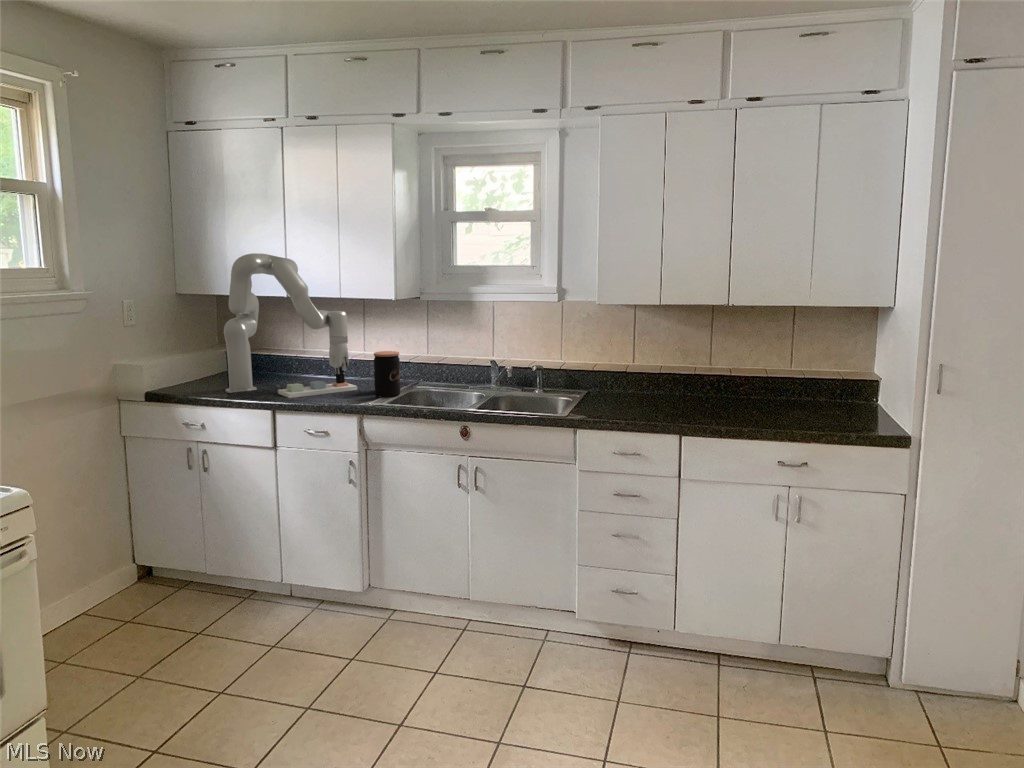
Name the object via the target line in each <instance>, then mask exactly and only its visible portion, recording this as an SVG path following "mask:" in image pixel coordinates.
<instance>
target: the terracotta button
mask: <svg viewBox="0 0 1024 768" xmlns="http://www.w3.org/2000/svg"><path fill="white" fill-rule="evenodd" d="M348 383H349V382H346V381H345V382H344V383H336V381H335V382H332V383H331V384H332V386H335V387H342V386H348Z"/></svg>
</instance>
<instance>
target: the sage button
mask: <svg viewBox="0 0 1024 768" xmlns="http://www.w3.org/2000/svg"><path fill="white" fill-rule="evenodd" d="M303 387H304V384H302V383H299V382H297V383H296V382H295V383H288V384H286V389H287V391H289V392H299V391H303Z"/></svg>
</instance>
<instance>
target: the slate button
mask: <svg viewBox="0 0 1024 768" xmlns="http://www.w3.org/2000/svg"><path fill="white" fill-rule="evenodd" d="M326 384H327V382H326V381H323V380H315V381H309V386H310V388H311V389H314V390H316V389H324V388H326Z"/></svg>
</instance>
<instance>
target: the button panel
mask: <svg viewBox="0 0 1024 768" xmlns="http://www.w3.org/2000/svg"><path fill="white" fill-rule="evenodd" d="M347 383H348V386H342V387H335V386H332V383H326V388H324V389H316V390H314V389H311V388H310V385H309V386H303V391H299V392H289V391H287V388H282V389H277V393H278V395H281V396H283V397H285V398H288V399H293V398H299V397H300V398H301V397H309V396H316V395H323V394H332V393H333V394H334V393H340V392H341V393H342V392H350V391H357V390H358V385H356V384H351V383H349V382H347Z"/></svg>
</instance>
